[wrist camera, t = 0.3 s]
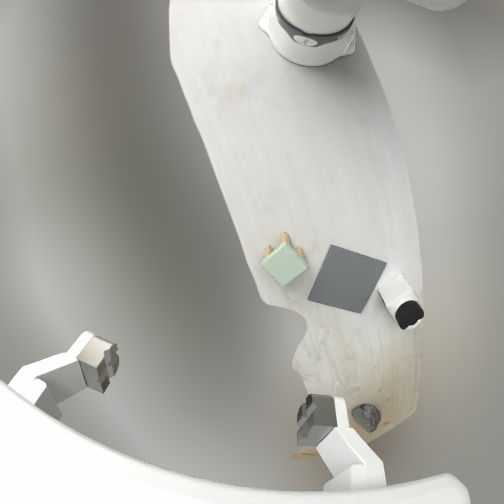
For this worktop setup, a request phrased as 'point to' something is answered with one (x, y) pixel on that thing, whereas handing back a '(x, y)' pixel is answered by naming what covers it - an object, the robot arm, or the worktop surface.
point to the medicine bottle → (402, 302)
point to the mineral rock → (367, 417)
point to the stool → (284, 261)
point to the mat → (346, 279)
